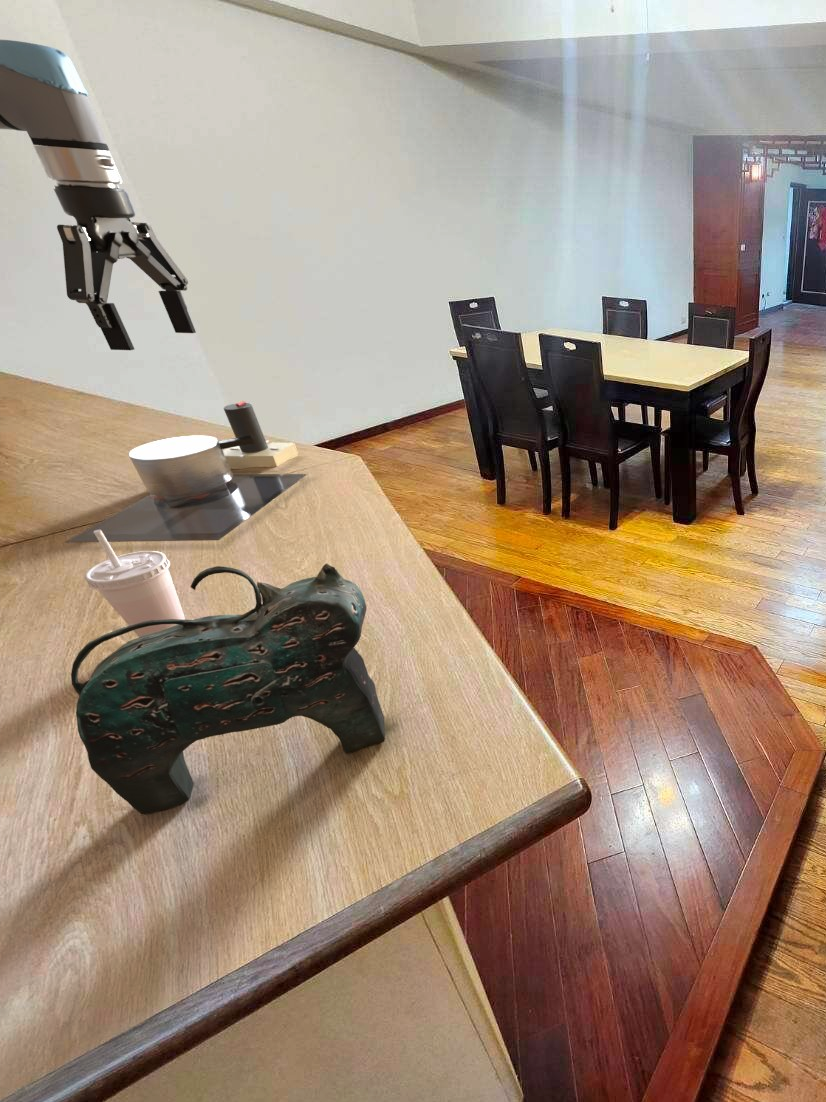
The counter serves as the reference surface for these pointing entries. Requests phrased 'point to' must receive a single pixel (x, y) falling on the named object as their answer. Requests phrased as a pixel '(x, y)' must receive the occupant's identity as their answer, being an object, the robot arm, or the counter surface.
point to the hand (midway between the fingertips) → (156, 340)
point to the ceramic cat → (226, 684)
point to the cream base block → (260, 456)
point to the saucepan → (185, 465)
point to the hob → (193, 512)
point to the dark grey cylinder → (246, 425)
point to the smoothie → (137, 587)
